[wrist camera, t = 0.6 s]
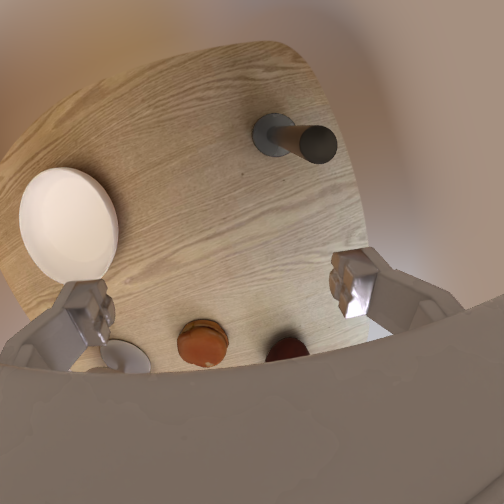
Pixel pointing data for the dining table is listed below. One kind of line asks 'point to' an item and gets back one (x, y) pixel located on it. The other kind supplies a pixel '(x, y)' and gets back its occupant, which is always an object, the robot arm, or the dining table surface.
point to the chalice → (122, 359)
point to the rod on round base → (293, 139)
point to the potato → (287, 350)
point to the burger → (202, 343)
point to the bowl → (68, 225)
